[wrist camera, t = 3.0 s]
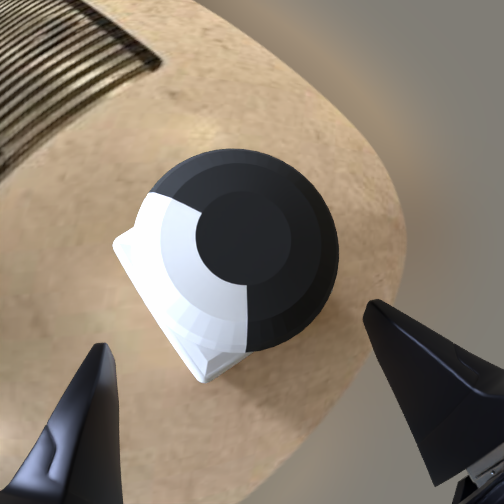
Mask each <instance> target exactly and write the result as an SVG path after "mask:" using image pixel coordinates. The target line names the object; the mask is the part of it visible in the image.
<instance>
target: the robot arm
mask: <svg viewBox="0 0 504 504" xmlns="http://www.w3.org/2000/svg"><path fill="white" fill-rule="evenodd" d="M363 323H364V326H365V329H366V331H367V334H368V336H369V339H370V342H371V344H372V347H373V350H374V352H375V355H376V357H377V359H378V362H379V364H380V366H381V367H382V370H383V372H384V374H385V376H386V378H387V380H388V382H389V384H390V386H391V388H392V390H393V392H394V394H395V397H396V399H397V401H398V403H399V405H400V407H401V410H402V412H403V414H404V416H405V418H406V421H407V423H408V425H409V427H410V430H411V432H412V434H413V436H414V439H415V441H416V443H417V446H418V448H419V451H420V453H421V455H422V458H423V460H424V462H425V465H426V467H427V470H428V472H429V475H430V477H431V480H432V482H433V484H434V486H435V487H436V486H438V485H440V484H442V483H443V482H445V481H447V480H449V479H450V478H452V477H453V476H455V475H457V474H458V473H460V472H462V471H463V470H465V469H466V470H467V472H468V475H467V476H465V477H464V478H463V479H461V480H460V481H459V482H458V484H457V488H456V491H455V495H454V498H453V502H452V504H504V369H501V368H499V367H497V366H495V365H493V364H491V363H489V362H487V361H485V360H483V359H481V358H479V357H478V356H476V355H474V354H472V353H470V352H468V351H467V350H465V349H463V348H461V347H460V346H458V345H456V344H453V342H451V341H450V340H448V339H446V338H445V337H443V336H441V335H440V334H438V333H436V332H435V331H433V330H431V329H430V328H428V327H426V326H425V325H423V324H421V323H420V322H418V321H416V320H414V319H412V318H411V317H409V316H408V315H406V314H404V313H403V312H401V311H399V310H397V309H396V308H394V307H392V306H391V305H389V304H387V303H385V302H384V301H382V300H380V299H374V300H370V301H369V302H368V303H367V306H366V309H365V312H364V315H363ZM0 504H123V496H122V484H121V468H120V444H119V399H118V389H117V377H116V364H115V359H114V357H113V354H112V352H111V350H110V348H109V346H108V344H107V343H96V344H94V345H93V347H92V348H91V350H90V351H89V353H88V355H87V356H86V358H85V359H84V361H83V362H82V364H81V366H80V367H79V369H78V371H77V372H76V374H75V375H74V377H73V379H72V380H71V382H70V384H69V385H68V387H67V389H66V391H65V392H64V394H63V396H62V397H61V399H60V401H59V403H58V404H57V406H56V408H55V410H54V411H53V413H52V415H51V417H50V418H49V420H48V422H47V425H45V427H44V429H43V431H42V433H41V435H40V436H39V438H38V440H37V442H36V443H35V445H34V447H33V448H32V450H31V451H30V453H29V454H28V456H27V458H26V459H25V461H24V462H23V464H22V465H21V467H20V468H19V470H18V471H17V473H16V474H15V476H14V477H13V479H12V480H11V482H10V483H9V484H8V485H7V486H6V487H5V488H4V489H3V490H1V491H0Z"/></svg>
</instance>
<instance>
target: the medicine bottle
mask: <svg viewBox="0 0 504 504" xmlns="http://www.w3.org/2000/svg"><path fill="white" fill-rule="evenodd" d="M113 248H114V251H115V253H116V255H117V256H118V258H119V260H120V262H121V264H122V265H123V267H124V269H125V271H126V272H127V274H128V276H129V277H130V279H131V281H132V282H133V284H134V286H135V287H136V289H137V291H138V292H139V294H140V296H141V297H142V299H143V301H144V302H145V304H146V305H147V307H148V309H149V310H150V312H151V313H152V315H153V316H154V318H155V319H156V321H157V323H158V324H159V326H160V327H161V329H162V330H163V332H164V333H165V335H166V336H167V338H168V339H169V341H170V342H171V344H172V345H173V346H174V348H175V349H176V351H177V352H178V354H179V355H180V357H181V358H182V359H183V361H184V362H185V364H186V365H187V366H188V368H189V369H190V370H191V372H192V373H193V375H194V376H195V377H196V379H197V380H198V381H200V382H201V383H208V382H210V381H212V380H213V379H215V378H216V377H218V376H219V375H221V374H222V373H224V372H225V371H227V370H228V369H230V368H231V367H233V366H234V365H236V364H237V363H239V362H240V361H241V360H243V359H244V358H246V357H247V356H249V355H250V354H251V353H253V352H254V351H261V350H264V349H268V348H271V347H275V346H277V345H279V344H281V343H283V342H285V341H288V340H289V339H291V338H292V337H294V336H295V335H297V334H298V333H300V332H301V331H302V330H304V329H305V328H306V327H307V326H308V325H309V324H310V323H311V322H312V321H313V320H314V319H315V318H316V316H317V315H318V314H319V313H320V312H321V310H322V308H323V307H324V305H325V304H326V302H327V300H328V298H329V296H330V294H331V292H332V290H333V287H334V283H335V279H336V276H337V271H338V263H339V244H338V237H337V231H336V228H335V224H334V221H333V218H332V216H331V213H330V211H329V209H328V207H327V205H326V203H325V201H324V200H323V198H322V196H321V195H320V194H319V192H318V191H317V190H316V188H315V187H314V186H313V185H312V184H311V183H310V182H309V181H308V180H307V179H306V178H305V177H304V176H303V175H302V174H301V173H300V172H298V171H297V170H296V169H294V168H293V167H291V166H290V165H288V164H286V163H285V162H283V161H281V160H279V159H277V158H275V157H272V156H270V155H267V154H264V153H260V152H257V151H252V150H246V149H220V150H213V151H209V152H205V153H201V154H199V155H196V156H193V157H191V158H189V159H187V160H185V161H183V162H181V163H179V164H178V165H176V166H175V167H174V168H172V169H171V170H169V171H168V172H167V173H166V174H165V175H164V176H163V177H162V178H161V179H160V180H159V181H158V182H157V183H156V184H155V185H154V187H153V188H152V189H151V190H150V192H149V193H148V195H147V197H146V198H145V200H144V202H143V204H142V205H141V208H140V211H139V213H138V216H137V218H136V222H135V227H133V228H132V229H130V230H128V231H127V232H125V233H124V234H122V235H121V236H119V237H117V238H116V239H115V240H114V243H113Z"/></svg>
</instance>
